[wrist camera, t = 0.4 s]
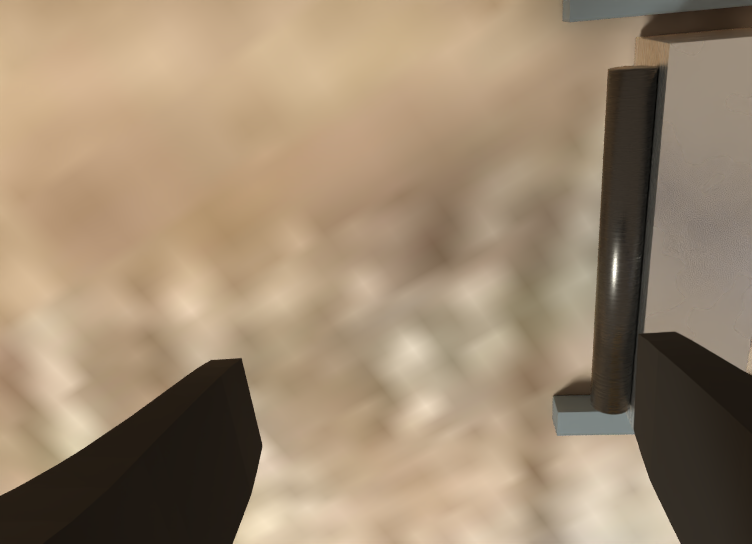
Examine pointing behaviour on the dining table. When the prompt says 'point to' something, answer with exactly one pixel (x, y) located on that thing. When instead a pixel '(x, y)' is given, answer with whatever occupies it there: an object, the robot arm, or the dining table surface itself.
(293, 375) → the dining table surface
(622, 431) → the vise
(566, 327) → the dining table surface
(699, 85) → the sliding jaw
